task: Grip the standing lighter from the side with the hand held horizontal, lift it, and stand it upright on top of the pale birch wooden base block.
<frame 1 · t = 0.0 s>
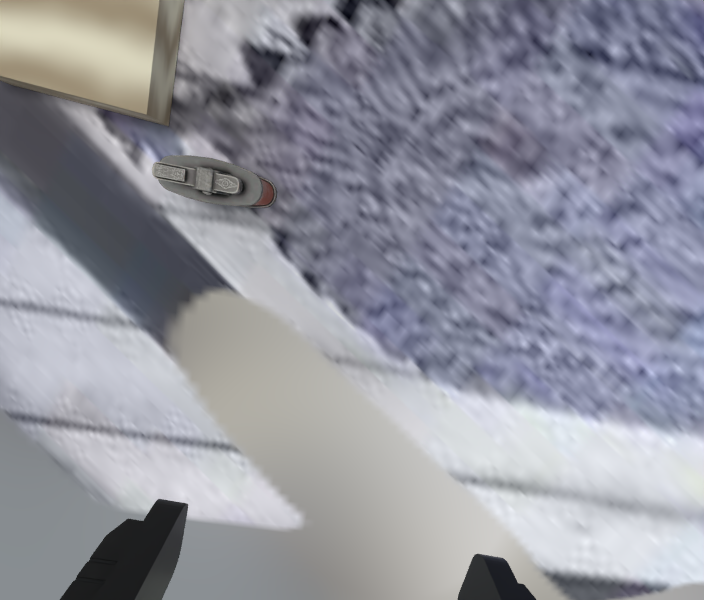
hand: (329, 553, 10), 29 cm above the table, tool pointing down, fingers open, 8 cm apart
base block: (98, 21, 32), on the table
lighter: (236, 188, 35), on the table
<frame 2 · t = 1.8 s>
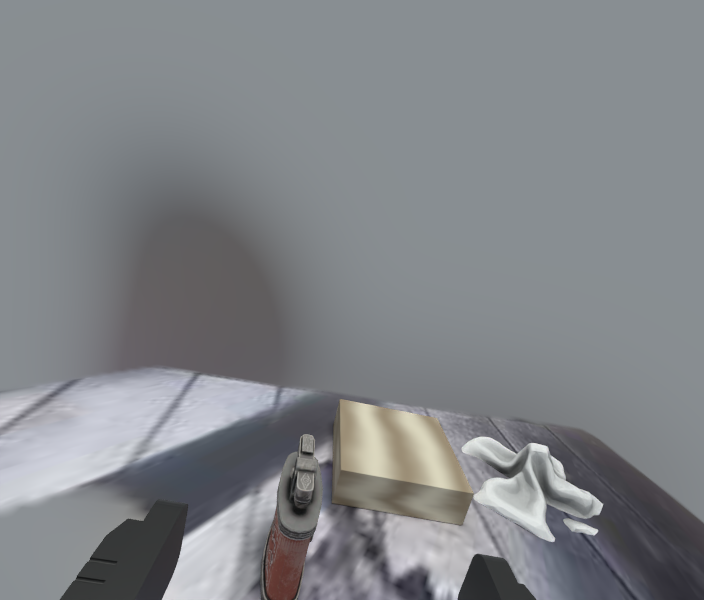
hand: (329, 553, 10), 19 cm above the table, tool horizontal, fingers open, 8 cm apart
cloth: (537, 491, 48), on the table
base block: (388, 467, 44), on the table
lighter: (282, 564, 29), on the table
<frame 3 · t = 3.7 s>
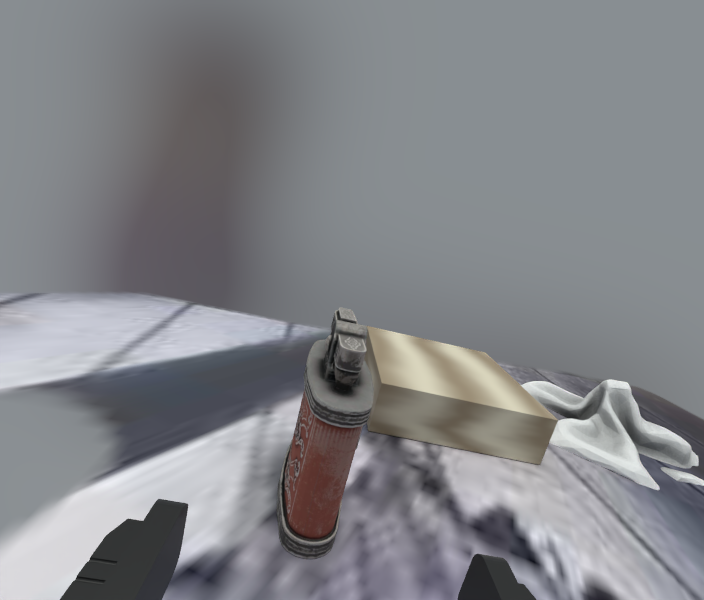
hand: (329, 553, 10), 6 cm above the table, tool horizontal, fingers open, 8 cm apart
cloth: (613, 439, 38), on the table
base block: (432, 402, 34), on the table
lighter: (307, 493, 20), on the table
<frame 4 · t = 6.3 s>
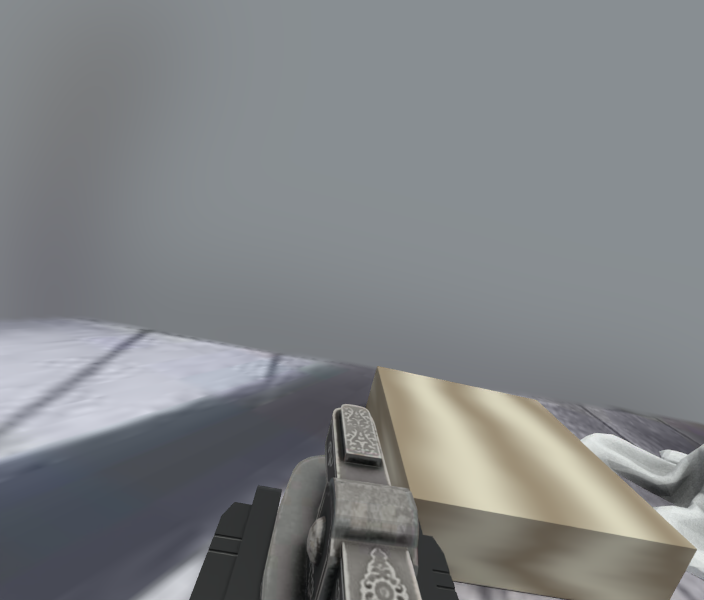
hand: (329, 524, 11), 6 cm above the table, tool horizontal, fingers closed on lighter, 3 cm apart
base block: (475, 485, 24), on the table
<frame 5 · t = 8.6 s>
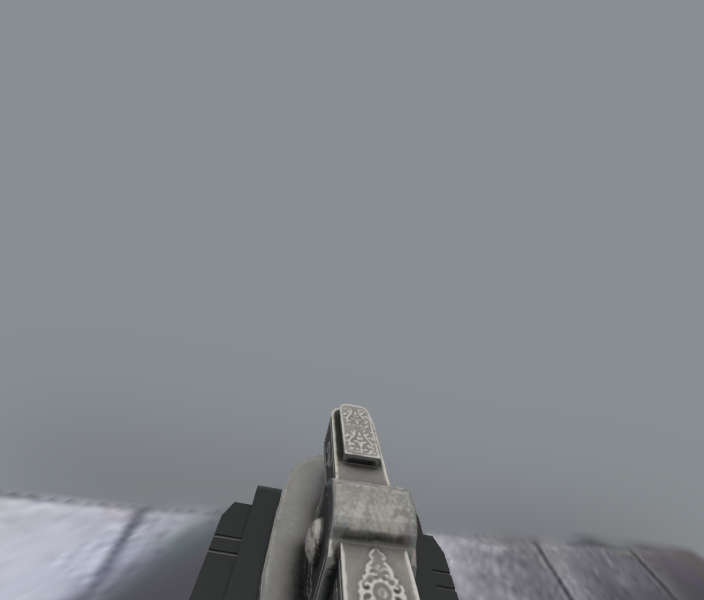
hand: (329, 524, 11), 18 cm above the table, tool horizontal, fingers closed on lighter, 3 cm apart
when the fingers open (11 cm above the table, at t = 10.8 s): lighter drops 1 cm, resting on base block.
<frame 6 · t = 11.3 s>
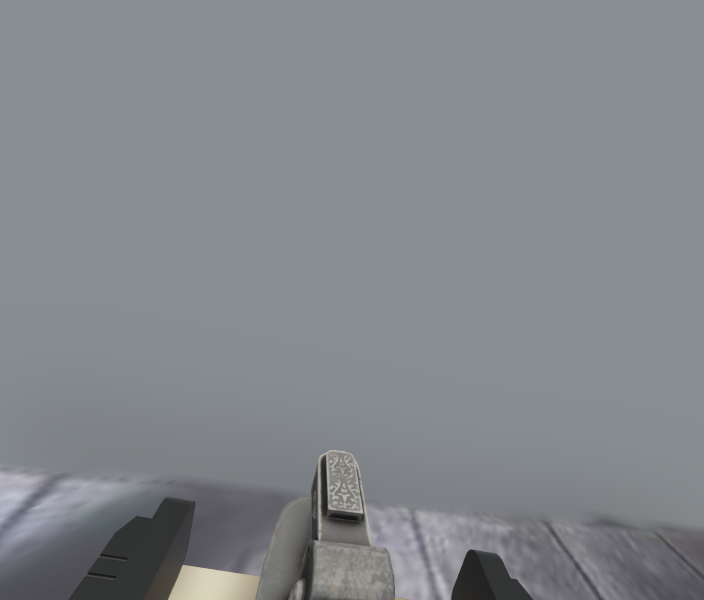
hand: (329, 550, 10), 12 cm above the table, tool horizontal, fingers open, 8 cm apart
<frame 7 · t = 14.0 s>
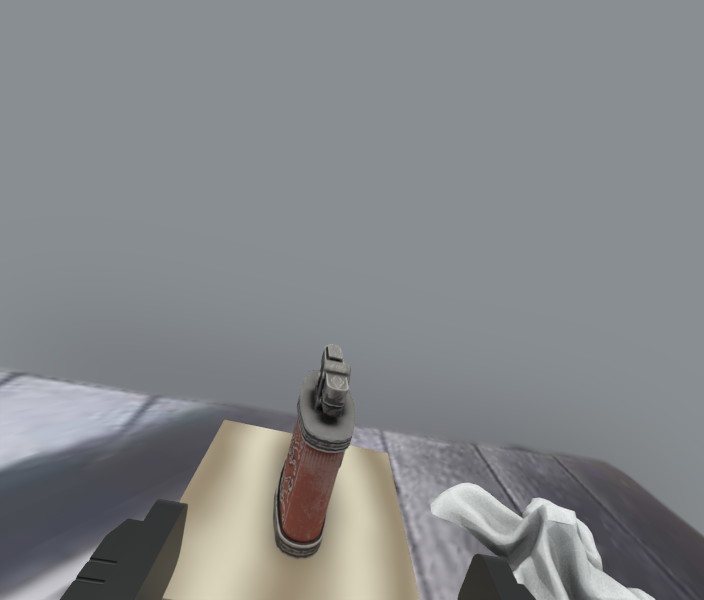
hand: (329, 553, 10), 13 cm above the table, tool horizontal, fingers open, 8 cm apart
cloth: (555, 586, 28), on the table
base block: (286, 550, 24), on the table
lighter: (299, 504, 23), point 4 cm above the table, touching base block
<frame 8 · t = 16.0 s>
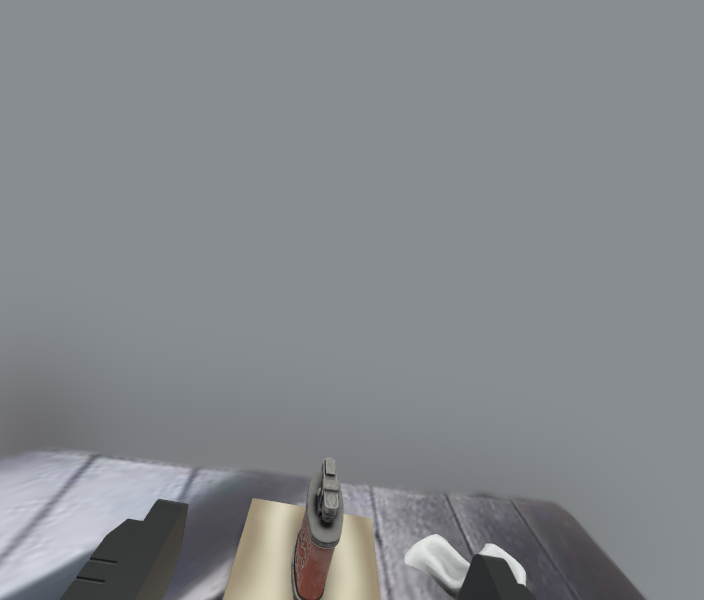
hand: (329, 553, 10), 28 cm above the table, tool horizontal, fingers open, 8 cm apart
base block: (299, 597, 36), on the table
lighter: (308, 568, 35), point 4 cm above the table, touching base block
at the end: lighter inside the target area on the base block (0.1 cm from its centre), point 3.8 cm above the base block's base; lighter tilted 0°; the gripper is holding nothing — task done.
